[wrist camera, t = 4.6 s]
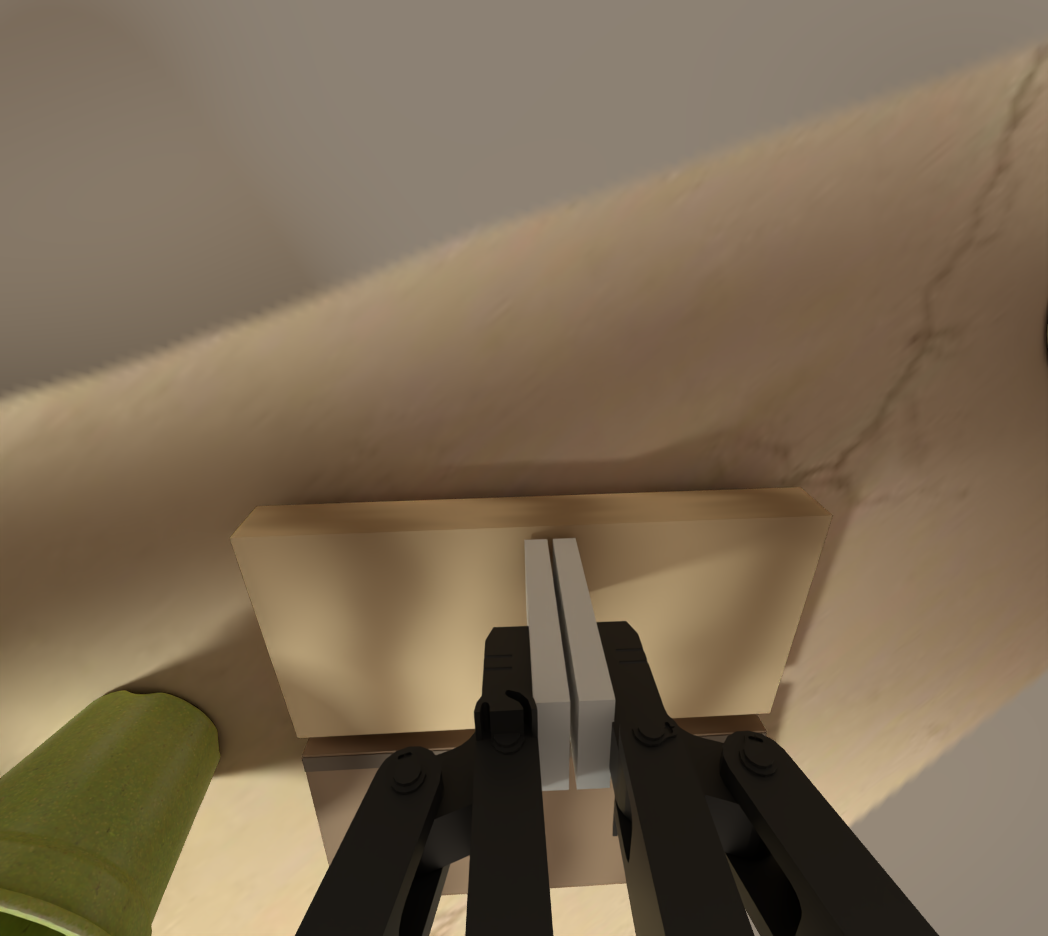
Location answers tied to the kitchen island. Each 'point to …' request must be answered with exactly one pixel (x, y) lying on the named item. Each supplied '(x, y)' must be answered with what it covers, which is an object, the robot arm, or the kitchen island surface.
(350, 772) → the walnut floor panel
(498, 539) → the oak plank
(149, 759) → the plant pot
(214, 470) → the kitchen island surface
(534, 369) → the kitchen island surface
